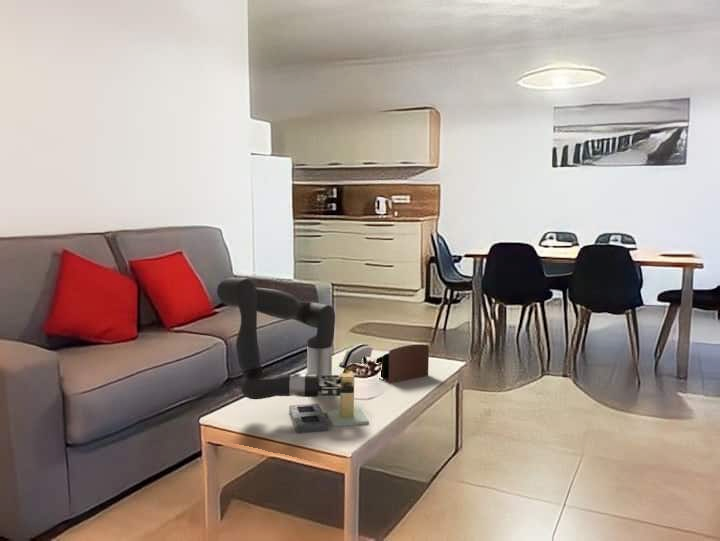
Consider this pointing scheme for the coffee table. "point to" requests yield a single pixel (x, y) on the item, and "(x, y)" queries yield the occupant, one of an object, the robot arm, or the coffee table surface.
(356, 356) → the grey curved piece
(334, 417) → the pad
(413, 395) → the coffee table surface
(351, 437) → the coffee table surface
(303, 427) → the frame with square holes
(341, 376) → the plug
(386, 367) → the letter holder
